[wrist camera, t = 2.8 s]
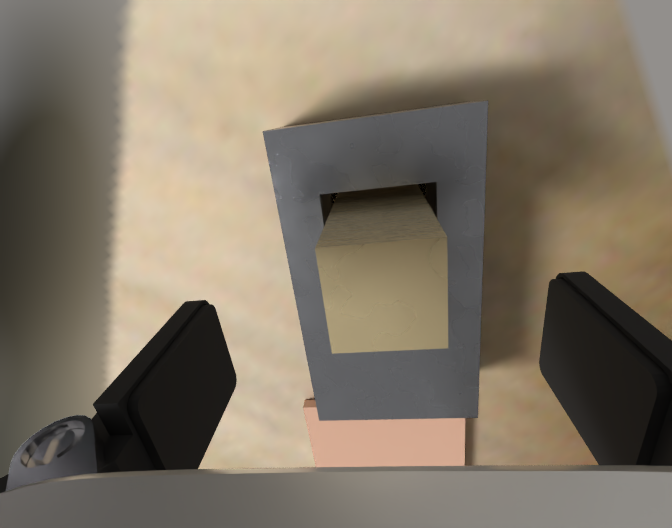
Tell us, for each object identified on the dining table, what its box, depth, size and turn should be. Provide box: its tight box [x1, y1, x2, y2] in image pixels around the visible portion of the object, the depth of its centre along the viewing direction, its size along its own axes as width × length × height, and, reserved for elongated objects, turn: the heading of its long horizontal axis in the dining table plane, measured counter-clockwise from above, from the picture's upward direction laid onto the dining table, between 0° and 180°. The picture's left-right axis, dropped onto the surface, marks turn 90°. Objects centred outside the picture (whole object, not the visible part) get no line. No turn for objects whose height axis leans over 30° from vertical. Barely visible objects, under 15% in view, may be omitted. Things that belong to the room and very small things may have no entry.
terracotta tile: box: [303, 400, 465, 467], centre depth 29 cm, size 12×12×1 cm
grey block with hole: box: [263, 101, 488, 421], centre depth 21 cm, size 10×18×4 cm, turn 7°
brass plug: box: [315, 184, 448, 354], centre depth 17 cm, size 4×4×10 cm
